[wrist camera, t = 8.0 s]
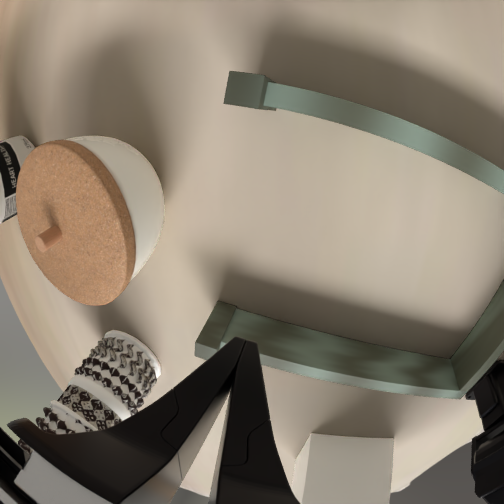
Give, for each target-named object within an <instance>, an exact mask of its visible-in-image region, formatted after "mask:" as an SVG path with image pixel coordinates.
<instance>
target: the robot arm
mask: <svg viewBox="0 0 504 504" xmlns="http://www.w3.org/2000/svg"><path fill="white" fill-rule="evenodd" d="M230 390H231V391H230ZM229 392H230V395H229ZM228 395H229V400H228V405H227V410H226V415H225V420H224V425H223V431H222V436H221V441H220V446H219V451H218V456H217V461H216V466H215V471H214V476H213V482H212V487H211V492H210V497H209V502H208V504H300V502H299V501H298V500H297V498H296V497H295V495H294V494H293V492H292V490H291V488H290V485H289V483H288V480H287V477H286V475H285V472H284V469H283V466H282V463H281V460H280V457H279V454H278V451H277V448H276V444H275V440H274V436H273V431H272V426H271V421H270V415H269V409H268V403H267V397H266V391H265V385H264V379H263V373H262V367H261V360H260V354H259V348H258V343H257V342H255V341H251V340H246V339H244V338H241V337H238V336H235V337H233V338H232V339H231V340H230V341H229V342H227V343H226V344H225V345H224V346H223V347H222V348H221V349H219V350H218V351H217V352H216V353H215V354H214V355H212V356H211V357H210V358H209V359H208V360H206V361H205V362H204V363H203V364H202V365H201V366H199V367H198V368H197V369H196V370H195V371H193V372H192V373H191V374H190V375H189V376H187V377H186V378H185V379H184V380H182V381H181V382H180V383H179V384H178V385H176V386H175V387H174V388H173V389H171V390H170V391H169V392H167V393H166V394H165V395H164V396H162V397H161V398H160V399H158V400H157V401H155V402H154V403H152V404H151V405H149V406H148V407H146V408H144V409H143V410H141V411H139V412H137V413H136V414H134V415H132V416H130V417H129V418H127V419H125V420H123V421H121V422H119V423H118V424H116V425H114V426H111V427H109V428H106V429H102V430H97V431H89V432H79V433H68V434H51V433H47V432H45V431H43V430H41V429H40V428H39V427H37V426H36V425H35V424H34V423H32V422H31V421H30V420H29V419H27V418H22V419H17V420H14V421H11V422H10V423H8V424H7V426H8V427H9V428H10V429H11V430H12V431H13V432H14V433H15V434H16V435H17V436H18V437H19V438H20V439H21V440H23V441H24V442H25V443H26V444H27V445H28V446H29V447H31V448H32V449H33V452H32V454H31V455H29V454H28V453H27V452H26V451H25V450H24V449H23V448H21V447H20V446H19V445H18V444H17V443H16V442H15V441H14V440H13V439H12V438H11V437H10V436H9V435H8V434H7V433H6V432H5V431H4V430H3V429H2V428H1V427H0V504H169V503H170V502H171V500H172V498H173V497H174V495H175V493H176V491H177V490H178V488H179V486H180V485H181V483H182V481H183V479H184V477H185V476H186V474H187V472H188V470H189V468H190V467H191V465H192V463H193V461H194V459H195V458H196V456H197V454H198V452H199V450H200V448H201V447H202V445H203V443H204V441H205V439H206V437H207V435H208V433H209V432H210V430H211V428H212V426H213V424H214V422H215V420H216V418H217V416H218V414H219V412H220V410H221V409H222V407H223V405H224V403H225V401H226V399H227V397H228ZM465 397H466V399H467V400H475V401H476V404H477V408H478V412H479V416H480V418H481V420H482V424H483V428H484V431H485V432H483V433H481V434H480V435H478V436H475V437H474V438H472V459H471V460H472V461H471V475H472V476H473V478H474V480H475V493H476V495H477V496H478V497H479V498H481V497H482V498H483V499H484V500H485V501H486V502H487V503H488V504H504V361H501V360H499V361H497V362H496V363H495V364H494V365H493V366H492V367H491V368H490V370H489V371H488V372H487V373H486V374H485V375H484V376H483V377H482V378H481V380H480V381H479V382H478V383H477V384H476V385H475V386H474V387H473V388H472V389H471V390H470V391H469V392H468V393H467V394H466V395H465Z"/></svg>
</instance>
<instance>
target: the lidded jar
mask: <svg viewBox="0 0 504 504" xmlns="http://www.w3.org/2000/svg"><path fill="white" fill-rule="evenodd" d="M16 208H17V216H18V220H19V225H20V228H21V232H22V235H23V238H24V240H25V243H26V245H27V247H28V250H29V252H30V254H31V256H32V257H33V259H34V261H35V262H36V264H37V265H38V267H39V268H40V270H41V271H42V272H43V274H44V275H45V276H46V277H47V279H48V280H49V281H50V282H51V283H52V284H53V285H54V286H55V287H56V288H57V289H58V290H60V291H61V292H62V293H64V294H65V295H66V296H68V297H70V298H71V299H73V300H75V301H77V302H80V303H83V304H87V305H98V306H99V305H104V304H108V303H110V302H112V301H113V300H114V299H115V298H117V297H118V296H119V295H120V294H121V293H122V292H123V291H124V289H125V288H126V287H127V285H128V283H129V282H130V281H131V280H132V279H133V278H134V277H135V276H136V274H137V273H138V272H139V271H140V270H141V269H142V267H143V266H144V264H145V263H146V262H147V260H148V259H149V257H150V256H151V255H152V253H153V251H154V249H155V247H156V245H157V243H158V241H159V238H160V235H161V231H162V228H163V224H164V215H165V206H164V195H163V190H162V187H161V183H160V180H159V178H158V176H157V174H156V172H155V170H154V168H153V167H152V165H151V164H150V162H149V161H148V160H147V159H146V158H145V157H144V156H143V155H142V154H141V153H140V152H139V151H138V150H137V149H136V148H134V147H133V146H131V145H129V144H128V143H125V142H123V141H120V140H118V139H115V138H111V137H106V136H97V135H96V136H80V137H74V138H69V139H65V140H55V141H50V142H47V143H44V144H42V145H39V146H37V147H36V148H35V149H34V150H32V151H31V152H30V154H29V155H28V156H27V157H26V159H25V161H24V163H23V165H22V167H21V169H20V172H19V175H18V180H17V187H16Z"/></svg>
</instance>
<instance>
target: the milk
mask: <svg viewBox="0 0 504 504" xmlns="http://www.w3.org/2000/svg"><path fill="white" fill-rule="evenodd" d="M393 447H394V438H363V437H346V436H334V435H324V434H315V433H311V434H310V436H309V438H308V440H307V441H306V443H305V445H304V446H303V448H302V450H301V451H300V453H299V455H298V456H297V458H296V460H295V466H294V473H293V480H292V486H291V490H292V492H293V494H294V495H295V497H296V498H297V500H298V501H299V502H300V504H389V499H390V490H391V480H392V467H393Z"/></svg>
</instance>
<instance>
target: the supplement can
mask: <svg viewBox="0 0 504 504" xmlns="http://www.w3.org/2000/svg"><path fill="white" fill-rule="evenodd" d="M34 149H35V146H34V145H33V143H32V142H30V141H29V140H28V139H27V138H25V137H24V136H15V137H12V138H9V139H6V140H2V141H0V224H1V223H3V222H4V221H6V220H8V219H10V218H11V217H13V216H15V215H17V208H16V187H17V180H18V175H19V172H20V169H21V167H22V165H23V163H24V161H25V159H26V157H27V156H28V155H29V154H30V152H31V151H32V150H34Z"/></svg>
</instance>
